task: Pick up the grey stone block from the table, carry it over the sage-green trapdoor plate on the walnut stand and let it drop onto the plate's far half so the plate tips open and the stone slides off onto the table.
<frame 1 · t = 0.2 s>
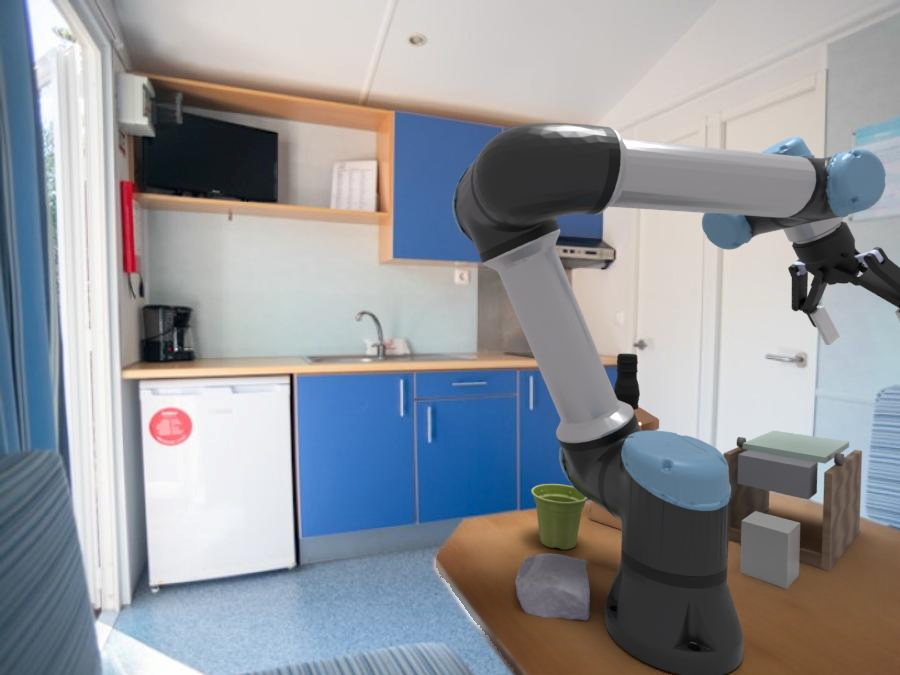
hand: (873, 341, 81), 35 cm above the table, tool tilted 35°, fingers open, 13 cm apart
grey stone block: (769, 574, 74), on the table
whiskey bottle: (624, 520, 94), on the table
trapdoor stand: (791, 534, 88), on the table
stone block: (551, 596, 68), on the table
plant pot: (558, 543, 84), on the table
trapdoor: (791, 461, 87), point 13 cm above the table, hinge at 0.0°
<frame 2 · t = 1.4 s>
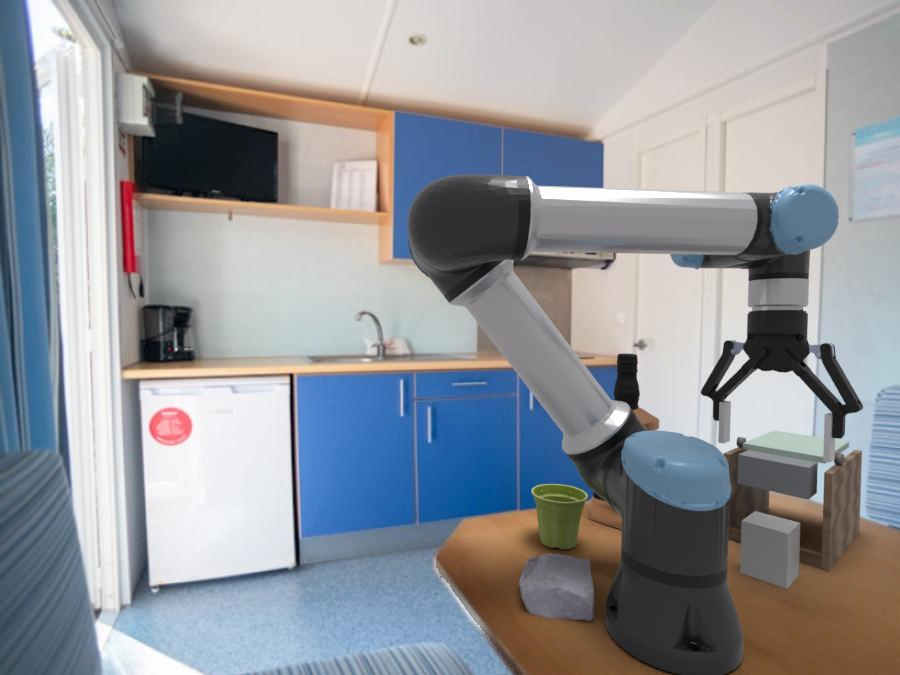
hand: (772, 450, 73), 19 cm above the table, tool pointing down, fingers open, 13 cm apart
nothing on the table moved.
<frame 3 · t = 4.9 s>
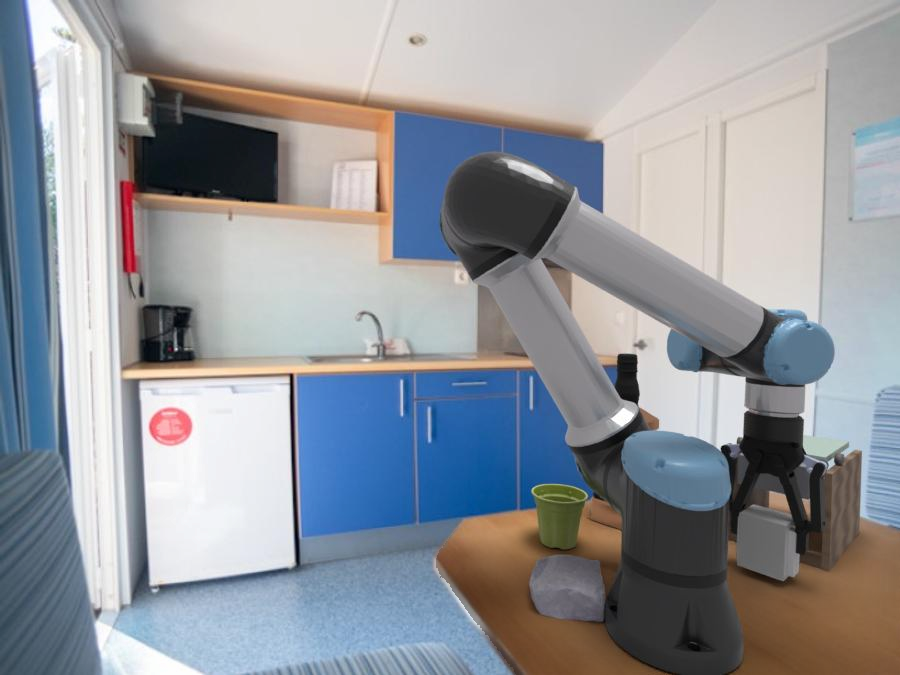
hand: (766, 564, 74), 1 cm above the table, tool pointing down, fingers closed on grey stone block, 6 cm apart
grey stone block: (766, 566, 74), point 1 cm above the table, touching gripper
stone block: (565, 598, 68), on the table
everything else where it was.
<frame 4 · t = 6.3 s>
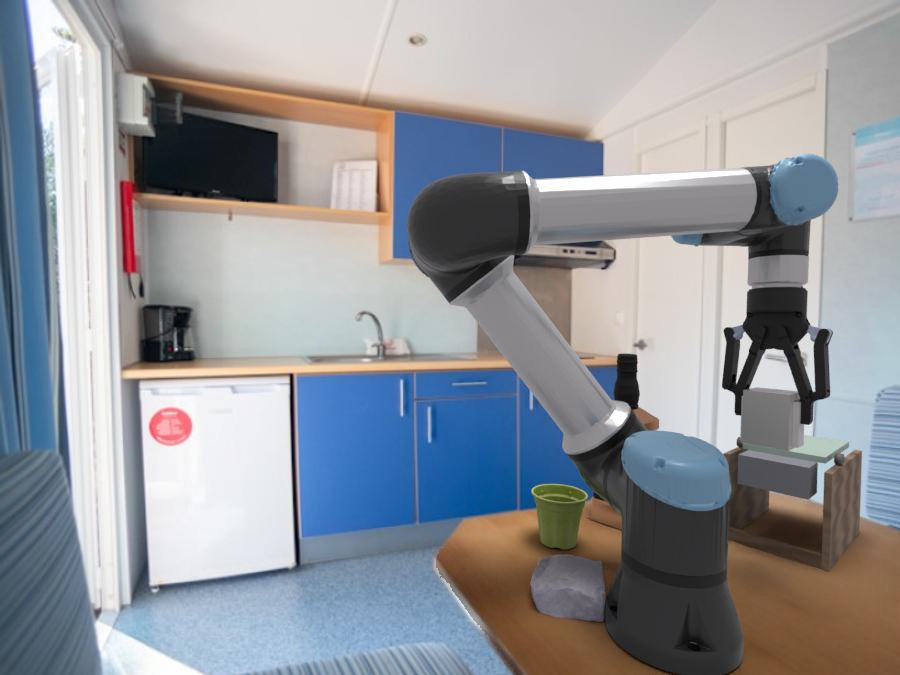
hand: (771, 441, 73), 20 cm above the table, tool pointing down, fingers closed on grey stone block, 6 cm apart
grey stone block: (770, 443, 73), point 20 cm above the table, touching gripper
everything else where it was.
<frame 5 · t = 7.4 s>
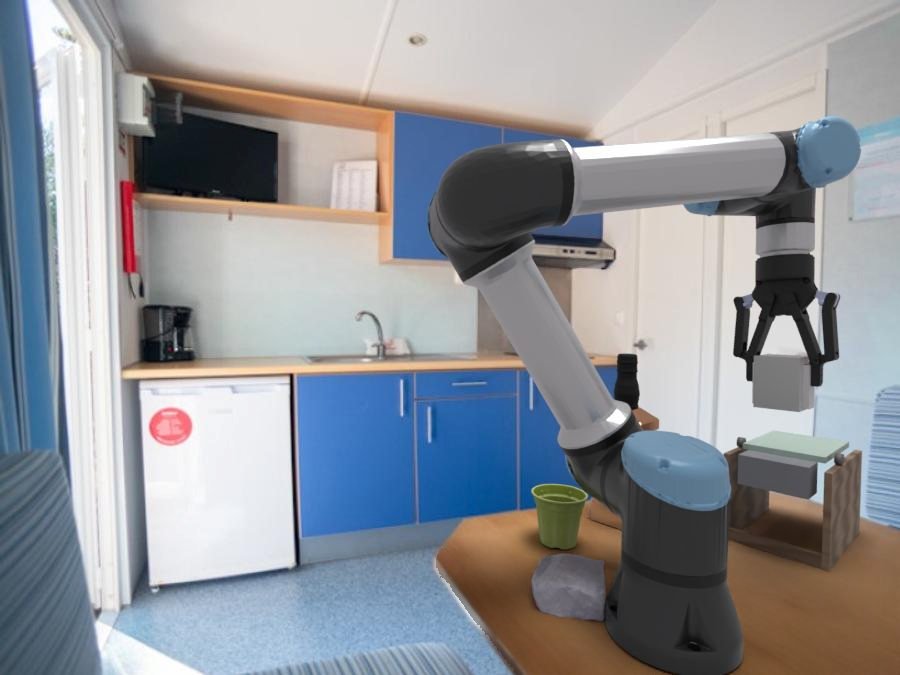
hand: (782, 404, 76), 25 cm above the table, tool pointing down, fingers closed on grey stone block, 6 cm apart
grey stone block: (782, 407, 76), point 25 cm above the table, touching gripper
everything else where it was.
when the fingers open (20 cm above the table, at t = 9.8 s): grey stone block drops 12 cm and tips over, point 8 cm above the table.
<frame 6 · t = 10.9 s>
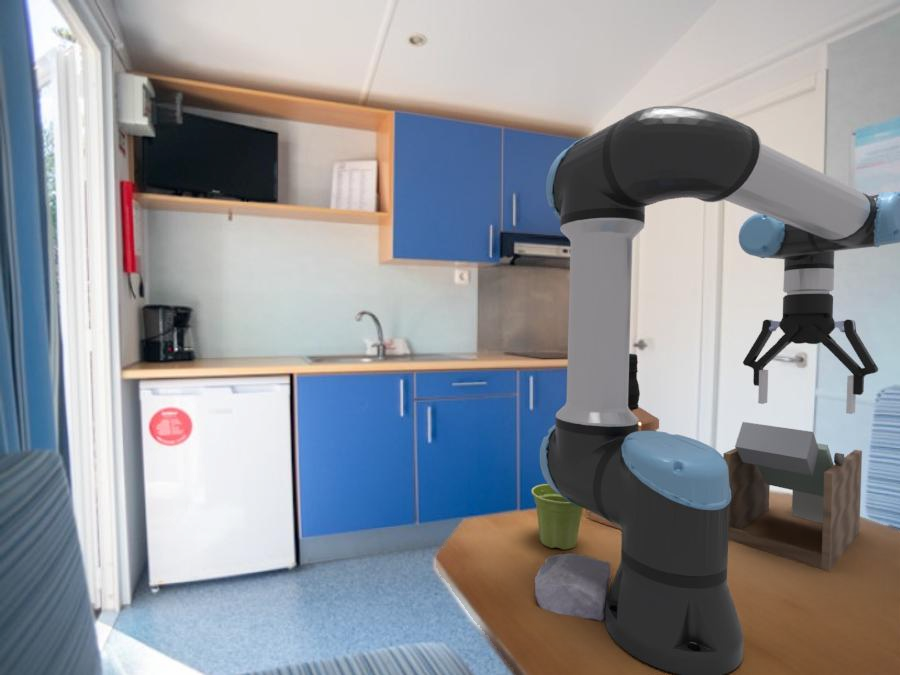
hand: (804, 407, 91), 22 cm above the table, tool pointing down, fingers open, 13 cm apart
grey stone block: (815, 476, 96), point 8 cm above the table, tilted 180°
trapdoor: (787, 471, 85), point 12 cm above the table, hinge at -41.3°
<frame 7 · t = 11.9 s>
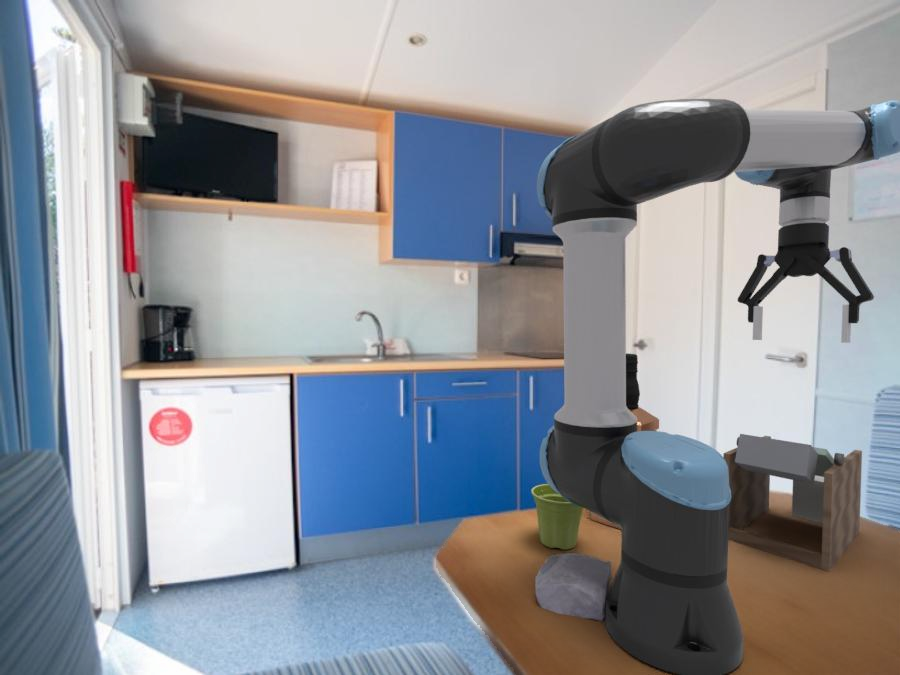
hand: (798, 341, 90), 35 cm above the table, tool pointing down, fingers open, 13 cm apart
trapdoor: (789, 468, 86), point 12 cm above the table, hinge at -25.6°
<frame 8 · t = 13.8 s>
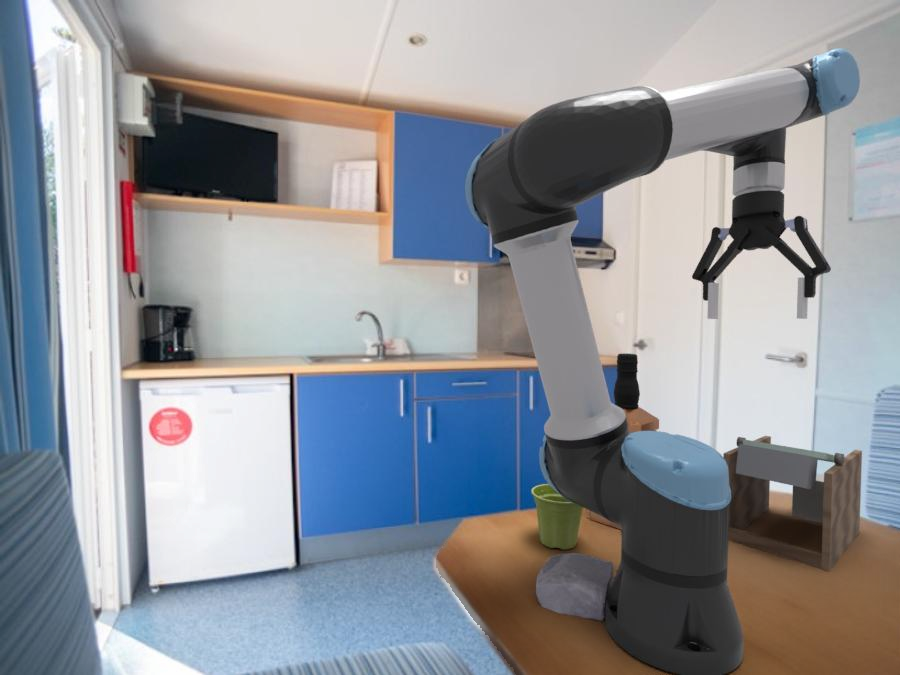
hand: (754, 318, 84), 39 cm above the table, tool pointing down, fingers open, 13 cm apart
trapdoor: (790, 465, 86), point 13 cm above the table, hinge at -13.4°
at the end: grey stone block point 7.9 cm above the table; grey stone block inside the target area on the trapdoor stand (4.3 cm from its centre), point 7.9 cm above the trapdoor stand's base; the gripper is holding nothing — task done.
